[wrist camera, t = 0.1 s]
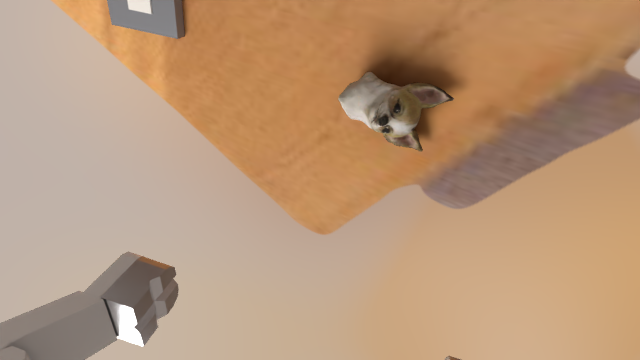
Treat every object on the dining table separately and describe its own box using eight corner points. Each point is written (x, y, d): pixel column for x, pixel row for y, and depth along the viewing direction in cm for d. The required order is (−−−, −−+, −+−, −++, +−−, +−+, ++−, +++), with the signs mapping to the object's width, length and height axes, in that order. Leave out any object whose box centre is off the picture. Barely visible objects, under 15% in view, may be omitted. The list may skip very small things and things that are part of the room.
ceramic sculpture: (350, 66, 46) (460, 111, 46) (359, 47, 53) (454, 87, 53) (323, 134, 52) (419, 174, 52) (334, 110, 59) (419, 145, 59)
